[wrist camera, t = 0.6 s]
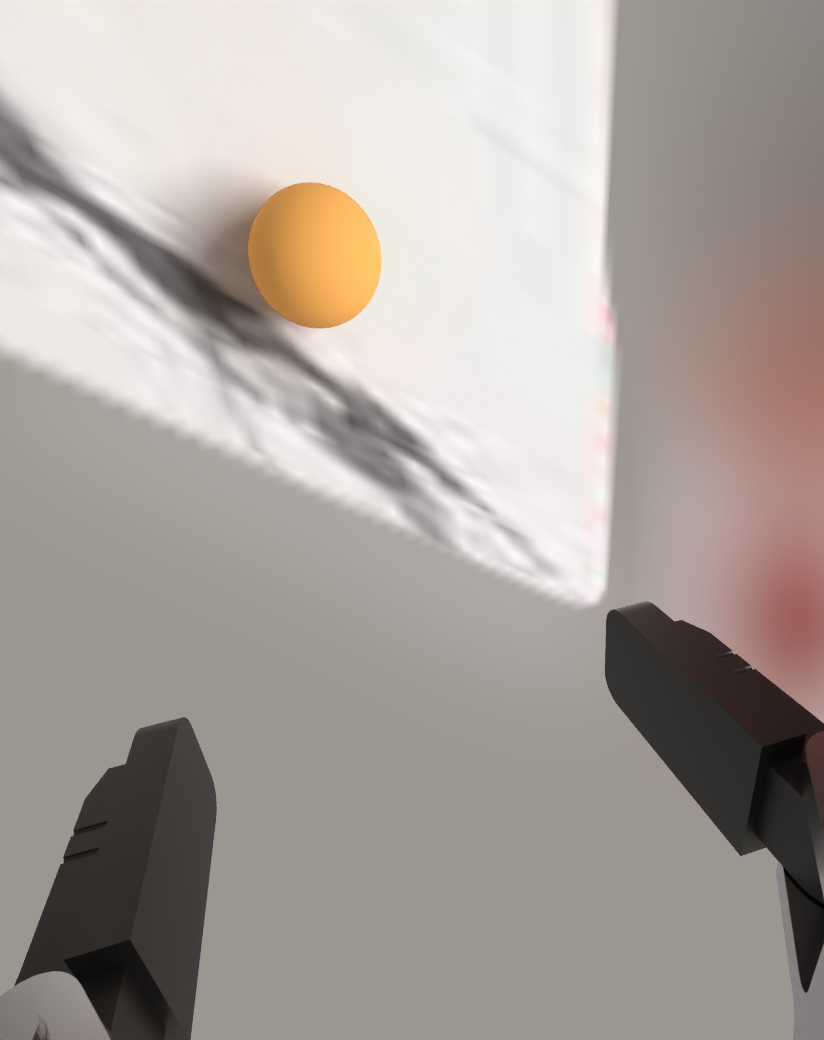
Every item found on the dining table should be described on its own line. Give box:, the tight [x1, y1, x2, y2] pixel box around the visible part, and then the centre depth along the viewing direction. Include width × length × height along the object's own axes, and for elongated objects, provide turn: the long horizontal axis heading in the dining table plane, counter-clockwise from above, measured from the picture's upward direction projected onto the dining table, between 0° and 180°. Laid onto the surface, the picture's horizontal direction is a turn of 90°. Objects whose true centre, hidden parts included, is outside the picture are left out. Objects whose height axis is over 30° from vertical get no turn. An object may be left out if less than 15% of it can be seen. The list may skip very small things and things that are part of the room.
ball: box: [248, 183, 381, 328], centre depth 23 cm, size 6×6×6 cm
